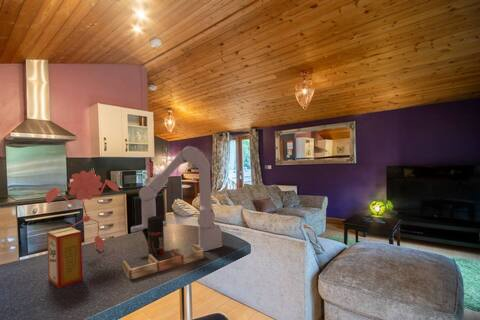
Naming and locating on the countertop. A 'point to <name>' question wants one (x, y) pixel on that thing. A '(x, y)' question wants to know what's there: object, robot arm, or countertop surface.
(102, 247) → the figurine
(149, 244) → the deodorant
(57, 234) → the baking soda box
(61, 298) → the countertop surface
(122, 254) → the countertop surface
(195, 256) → the bay rack
